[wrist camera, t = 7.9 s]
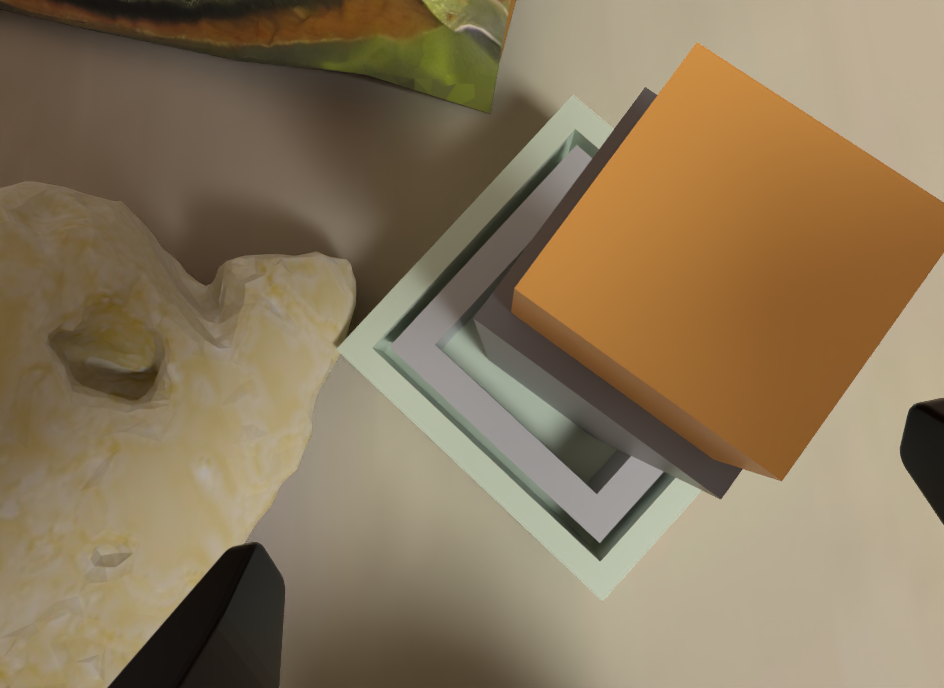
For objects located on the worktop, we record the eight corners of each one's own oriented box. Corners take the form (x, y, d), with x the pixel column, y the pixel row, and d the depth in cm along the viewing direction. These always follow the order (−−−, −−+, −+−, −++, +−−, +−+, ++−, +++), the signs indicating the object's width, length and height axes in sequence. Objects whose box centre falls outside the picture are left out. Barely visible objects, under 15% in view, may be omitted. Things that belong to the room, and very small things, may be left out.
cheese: (230, 179, 23) (-363, 290, 14) (312, 120, 18) (-576, 238, 8) (355, 507, 27) (-54, 777, 17) (457, 542, 21) (-62, 968, 12)
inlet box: (804, 335, 20) (851, 326, 17) (589, 574, 19) (603, 602, 17) (564, 130, 21) (573, 92, 18) (355, 354, 20) (335, 349, 18)
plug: (671, 332, 19) (1020, 209, 6) (594, 438, 19) (791, 534, 6) (564, 256, 20) (688, -3, 7) (488, 359, 20) (465, 296, 7)
